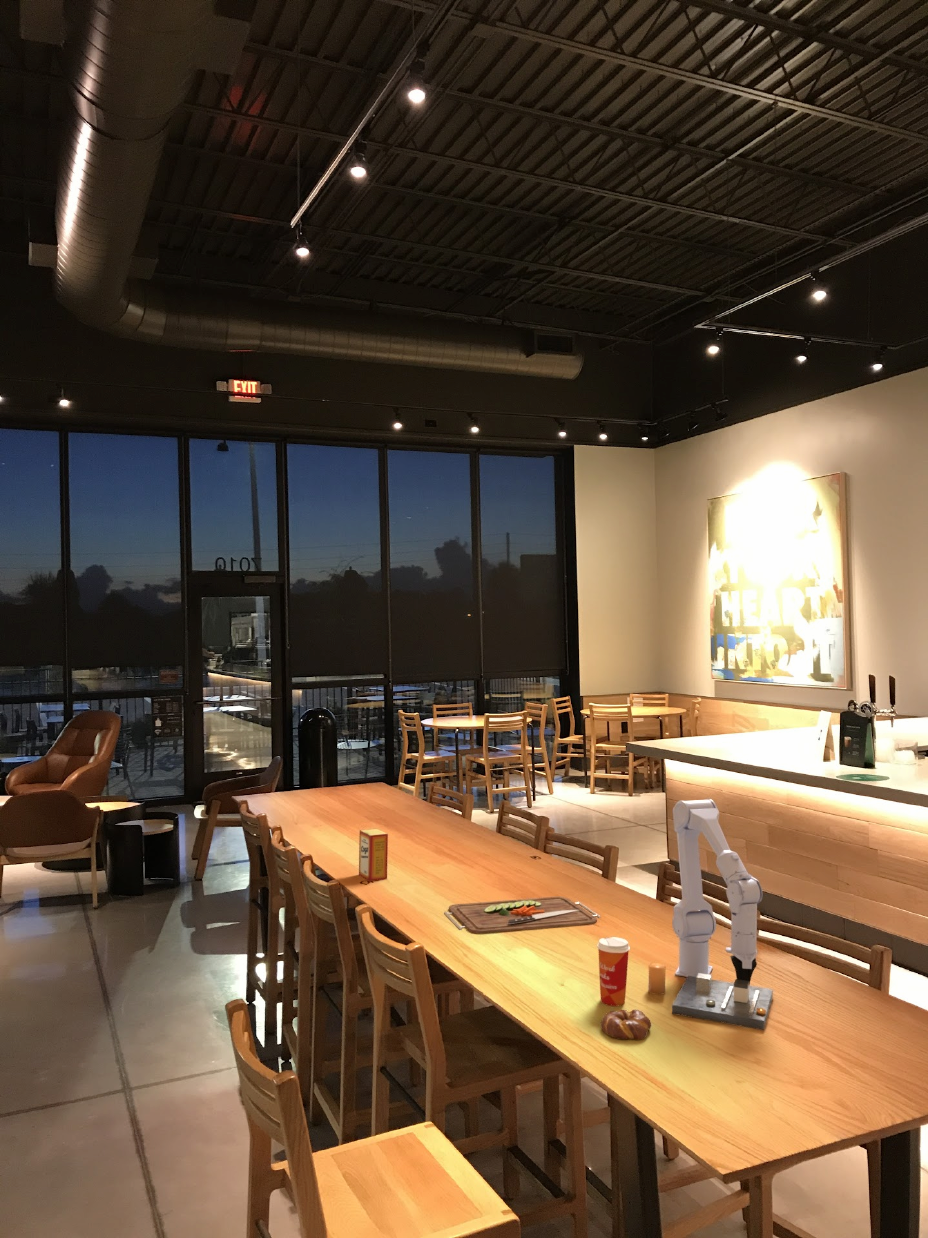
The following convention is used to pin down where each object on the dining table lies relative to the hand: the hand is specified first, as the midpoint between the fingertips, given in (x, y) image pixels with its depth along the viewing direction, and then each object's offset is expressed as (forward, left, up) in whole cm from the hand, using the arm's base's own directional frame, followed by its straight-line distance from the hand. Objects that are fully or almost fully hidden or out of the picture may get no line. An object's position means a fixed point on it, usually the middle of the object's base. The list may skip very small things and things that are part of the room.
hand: (743, 989), depth 218 cm
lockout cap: (+1, -20, -3) cm, 20 cm away
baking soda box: (-59, -132, -4) cm, 145 cm away
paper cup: (+12, -28, -4) cm, 31 cm away
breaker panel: (+3, -4, -3) cm, 6 cm away
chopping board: (-41, -70, -4) cm, 81 cm away
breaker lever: (+3, 0, -1) cm, 3 cm away
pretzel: (+26, -22, -4) cm, 34 cm away
